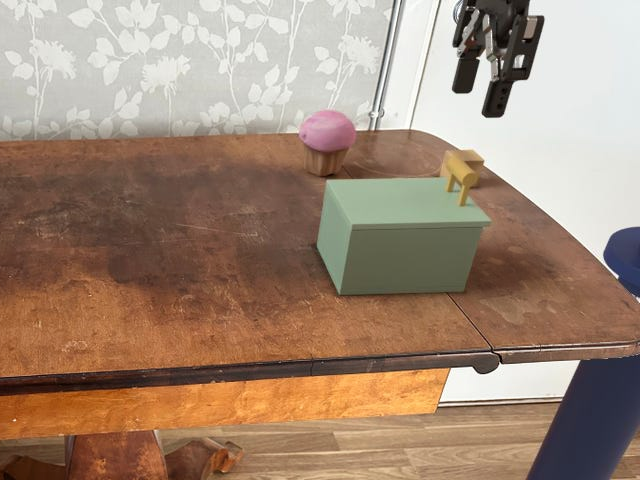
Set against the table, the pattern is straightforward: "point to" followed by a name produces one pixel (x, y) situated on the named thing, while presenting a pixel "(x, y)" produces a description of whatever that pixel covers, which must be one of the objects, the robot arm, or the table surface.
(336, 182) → the lid
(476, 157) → the block
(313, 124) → the cupcake
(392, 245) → the chest
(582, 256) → the table surface
